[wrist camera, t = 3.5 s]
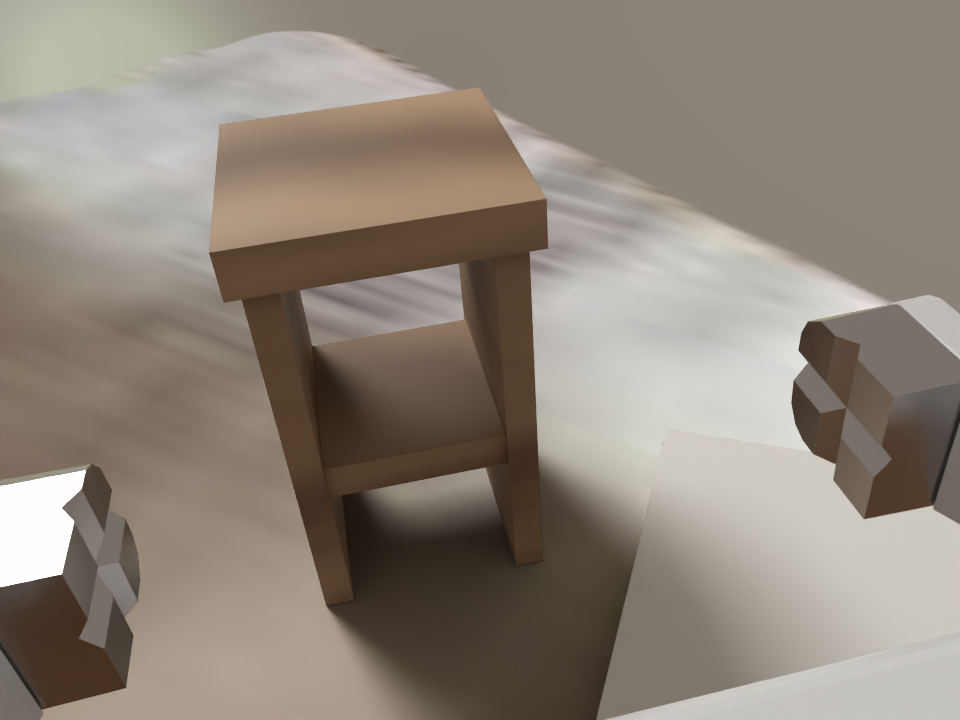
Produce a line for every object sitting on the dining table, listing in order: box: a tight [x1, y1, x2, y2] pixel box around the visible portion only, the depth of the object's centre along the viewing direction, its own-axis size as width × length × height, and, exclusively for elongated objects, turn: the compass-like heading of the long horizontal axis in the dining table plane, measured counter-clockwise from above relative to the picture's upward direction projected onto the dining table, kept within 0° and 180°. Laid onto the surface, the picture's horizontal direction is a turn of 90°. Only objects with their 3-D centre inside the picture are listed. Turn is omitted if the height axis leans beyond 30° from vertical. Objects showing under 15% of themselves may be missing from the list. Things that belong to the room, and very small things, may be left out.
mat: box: [596, 429, 960, 720], centre depth 23 cm, size 13×12×1 cm
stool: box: [209, 88, 548, 606], centre depth 25 cm, size 7×7×12 cm
